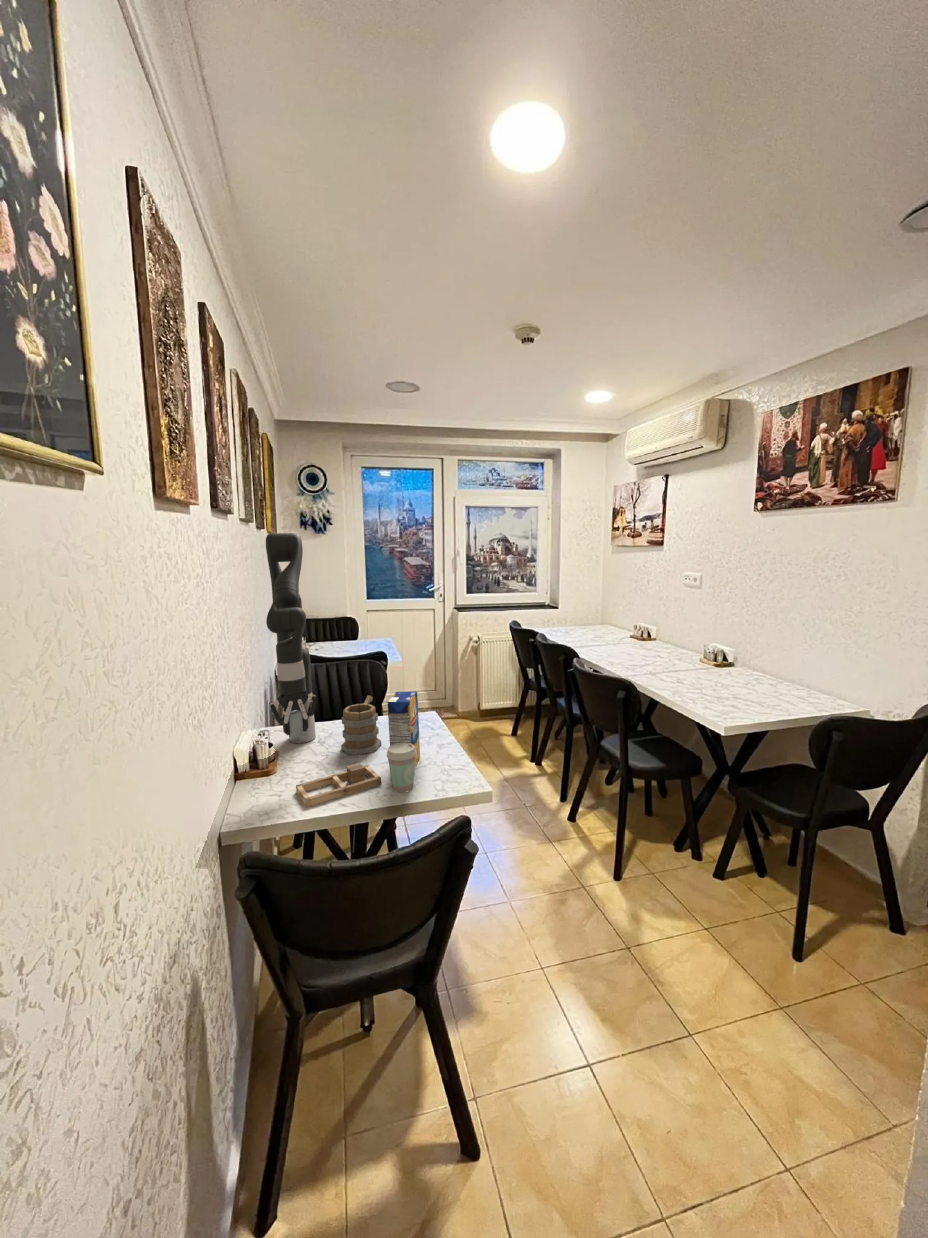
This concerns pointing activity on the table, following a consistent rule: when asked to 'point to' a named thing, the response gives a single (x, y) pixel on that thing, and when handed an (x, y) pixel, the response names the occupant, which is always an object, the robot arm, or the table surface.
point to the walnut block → (355, 773)
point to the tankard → (360, 728)
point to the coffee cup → (402, 766)
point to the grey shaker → (296, 724)
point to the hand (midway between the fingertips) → (296, 732)
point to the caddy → (337, 781)
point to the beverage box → (404, 720)
